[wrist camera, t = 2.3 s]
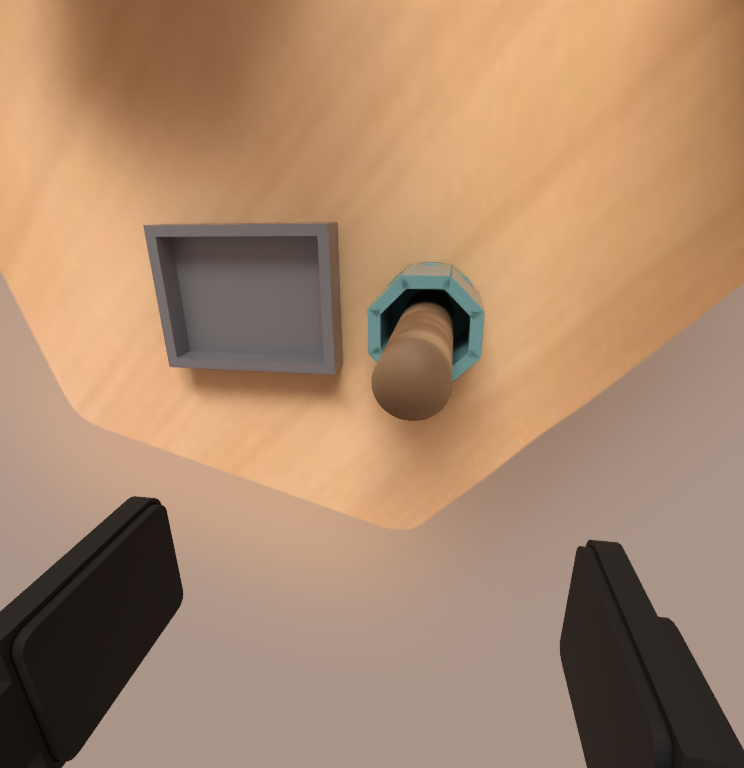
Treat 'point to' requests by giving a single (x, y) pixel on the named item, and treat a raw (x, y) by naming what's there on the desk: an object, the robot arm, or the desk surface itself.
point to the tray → (249, 295)
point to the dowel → (417, 359)
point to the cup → (441, 279)
